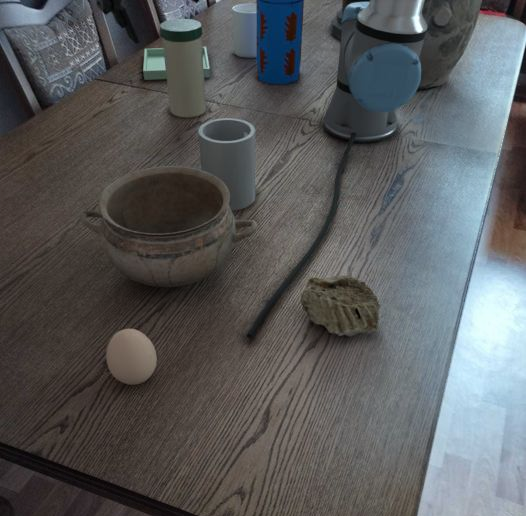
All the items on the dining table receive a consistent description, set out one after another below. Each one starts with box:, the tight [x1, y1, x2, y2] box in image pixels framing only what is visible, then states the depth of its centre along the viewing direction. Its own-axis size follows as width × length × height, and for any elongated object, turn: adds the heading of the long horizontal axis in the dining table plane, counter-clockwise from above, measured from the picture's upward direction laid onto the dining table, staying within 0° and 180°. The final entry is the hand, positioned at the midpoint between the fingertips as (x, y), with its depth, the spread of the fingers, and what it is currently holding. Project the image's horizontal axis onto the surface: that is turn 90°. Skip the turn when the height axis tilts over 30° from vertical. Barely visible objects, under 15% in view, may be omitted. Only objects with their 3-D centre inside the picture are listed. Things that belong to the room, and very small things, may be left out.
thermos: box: [255, 0, 305, 85], centre depth 128 cm, size 11×11×25 cm
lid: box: [159, 18, 203, 41], centre depth 111 cm, size 8×8×2 cm
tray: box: [142, 46, 211, 81], centre depth 140 cm, size 16×16×2 cm
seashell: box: [300, 275, 381, 337], centre depth 73 cm, size 11×7×10 cm
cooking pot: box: [79, 165, 258, 288], centre depth 78 cm, size 25×19×12 cm
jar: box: [161, 36, 207, 118], centre depth 117 cm, size 8×8×16 cm
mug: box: [231, 3, 257, 59], centre depth 146 cm, size 9×12×11 cm
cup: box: [197, 117, 256, 212], centre depth 93 cm, size 9×9×12 cm
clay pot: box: [417, 0, 483, 90], centre depth 126 cm, size 22×23×30 cm
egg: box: [105, 328, 158, 386], centre depth 65 cm, size 6×6×8 cm
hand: (164, 19), depth 101 cm, fingers open, 13 cm apart
